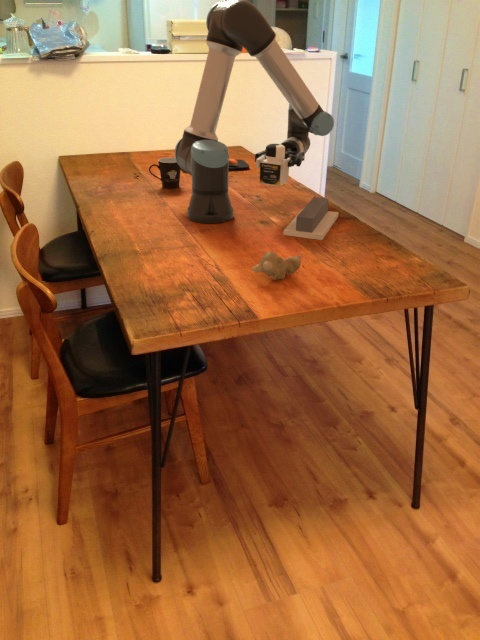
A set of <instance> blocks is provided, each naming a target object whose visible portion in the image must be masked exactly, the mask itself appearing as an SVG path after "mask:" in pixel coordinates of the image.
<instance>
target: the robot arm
mask: <svg viewBox="0 0 480 640" xmlns="http://www.w3.org/2000/svg"><path fill="white" fill-rule="evenodd" d="M205 25H206V29H207V35H206V39H205V43H206V45H207V47H208V52H207V57H206V60H205V64H204V69H203V72H202V76H201V81H200V85H199V88H198V93H197V97H196V100H195V104H194V108H193V112H192V117H191V120H190V124H189V126H187V127H185V128H184V129H183V134H182V138H181V139H179V140H178V141H177V143H176V145H175V148H174V158H175V159H176V162H177V164H178V165H179V166H180V168H181V170H182V172H185V173H186V174H188V175H190V176H191V186H192V187H191V197H190V199H189V205H188V206H187V214H186V215H187V218H188V219H189V220H190V221H193V222H195V223H200V224H201V223H202V224H219V223H220V224H222V223H226V222H228V221H230V220H233V218H234V208H233V206H232V203H231V198H230V195H229V194H230V193H229V170H230V169H229V159H230V155H229V147H228V146H227V144H225V143H223V142H221V141H219V138H218V136H217V134H216V131H217V128H218V123H219V120H220V116H221V113H222V108H223V105H224V101H225V96H226V93H227V90H228V86H229V82H230V78H231V74H232V71H233V67H234V64H235V63H234V62H235V59H236V57H237V56H239V55H240V54H242V52H243V49H244V50H246V52H247V54H248V55H249V56H250V57H252V58H256V60H257V61H258V62H259V64H260V65H261V66H262V68H263V69H264V71H265V72H266V73H267V75H268V76H269V78H270V79H271V81H272V82H273V83H274V85H275V86H276V87H277V89H278V90H279V91H280V93H281V94H282V96H283V97H284V98H285V100H286V102H287V103H288V109H287V133H286V139H285V140H284V141H282V142H281V143H280V144H281V145H283V146H285V158H284V159H286V160H285V161H283V164H282V171H285V170H286V169H288V168H289V169H290V168H291V167H295V166H296V167H301V165H302V163H303V162H305V157H306V156H305V155H306V153H307V152H308V151H309V149H310V147H311V139H310V136H309V134H310V133H311V134H313V135H315V136H320V137H325V136H327V135H329V134H330V133H331V132H333V128H334V124H335V119H334V117H333V115H332V114H330V113H329V112H327V111H325V110H324V109H323V108H322V106H321V105H320V103H319V102H318V101H317V99H316V98H315V97H314V95H313V94H312V92H311V91H310V88H308V86H307V84H306V83H305V82H304V80H303V78H302V77H301V75H300V74H299V72H298V70H296V68H295V67H294V65H293V64H292V63H291V61H290V59H289V58H288V57H287V55H286V53H285V52H284V50H283V49H282V48H281V46H280V44H279V43H278V41H277V40H276V38H277V34H276V32H275V31H274V29H273V27H272V26H271V25H270V23H269V22H268V21H267V19H266V18H265V16H264V15H263V13H262V12H261V11H260V10H259V8H258V7H256V5H255V4H253V3H251V2H250V1H247V0H220V1H218V2H216V3H215V4H213V5H212V6H211V8H210V9H209V11H208V13H207V15H206V24H205ZM265 159H267V158H266V148H265V149H264V150H262V151H260V152H257V153H254V162H255V169H260V162H261V161H263V160H265Z"/></svg>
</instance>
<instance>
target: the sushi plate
mask: <svg viewBox="0 0 480 640" xmlns="http://www.w3.org/2000/svg"><path fill="white" fill-rule="evenodd" d="M249 167H250V164H249V163H247V162H246V161H245V160H243V159H235V158H229V170H241V169H247V168H249Z"/></svg>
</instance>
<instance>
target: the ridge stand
mask: <svg viewBox="0 0 480 640" xmlns="http://www.w3.org/2000/svg"><path fill="white" fill-rule="evenodd" d="M329 199H330V198H327V197H319V196H318V197H316V196H313V197H312V198H311V199H310V200H309V202H308V203H307V204H306V205H305V206H304V207H303V208H302V209H301V210H300V211H299V212H298V214H297V215H296V216H295V217H294V218H293V220H292V221H290V222H289V224H288V225H287V226H286V227H285V228H284V229H283V236H289V237H297V238H302V239H312V240H318V241H323V240H324V238H325V237H326V235H327V234H328V233H329V232H330V230H331V228H332V226H333V225H334V224H335V222H336V221H337V219H338V217H339V212H338V211H329Z"/></svg>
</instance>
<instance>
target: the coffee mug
mask: <svg viewBox="0 0 480 640" xmlns="http://www.w3.org/2000/svg"><path fill="white" fill-rule="evenodd" d="M157 161H158V164H154V163H153V164H151V165H150V166H149V168H148V172H149V173H150V175H151V176H153V177H154V178H156V179H158V180H160V182H161V185H162V188H163V189H166V190H167V189H168V190H170V189H171V190H173V189H177V188H180V183H181V182H180V181H181V170H182V169H181V168H180V166H179V165H178V164H177V162H176V159H175V157H162V158H159V159H157ZM152 167H157V168H158V170H159V174H160V177H159V176H157V175H155V174H153V172H152V171H151V169H152Z"/></svg>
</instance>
